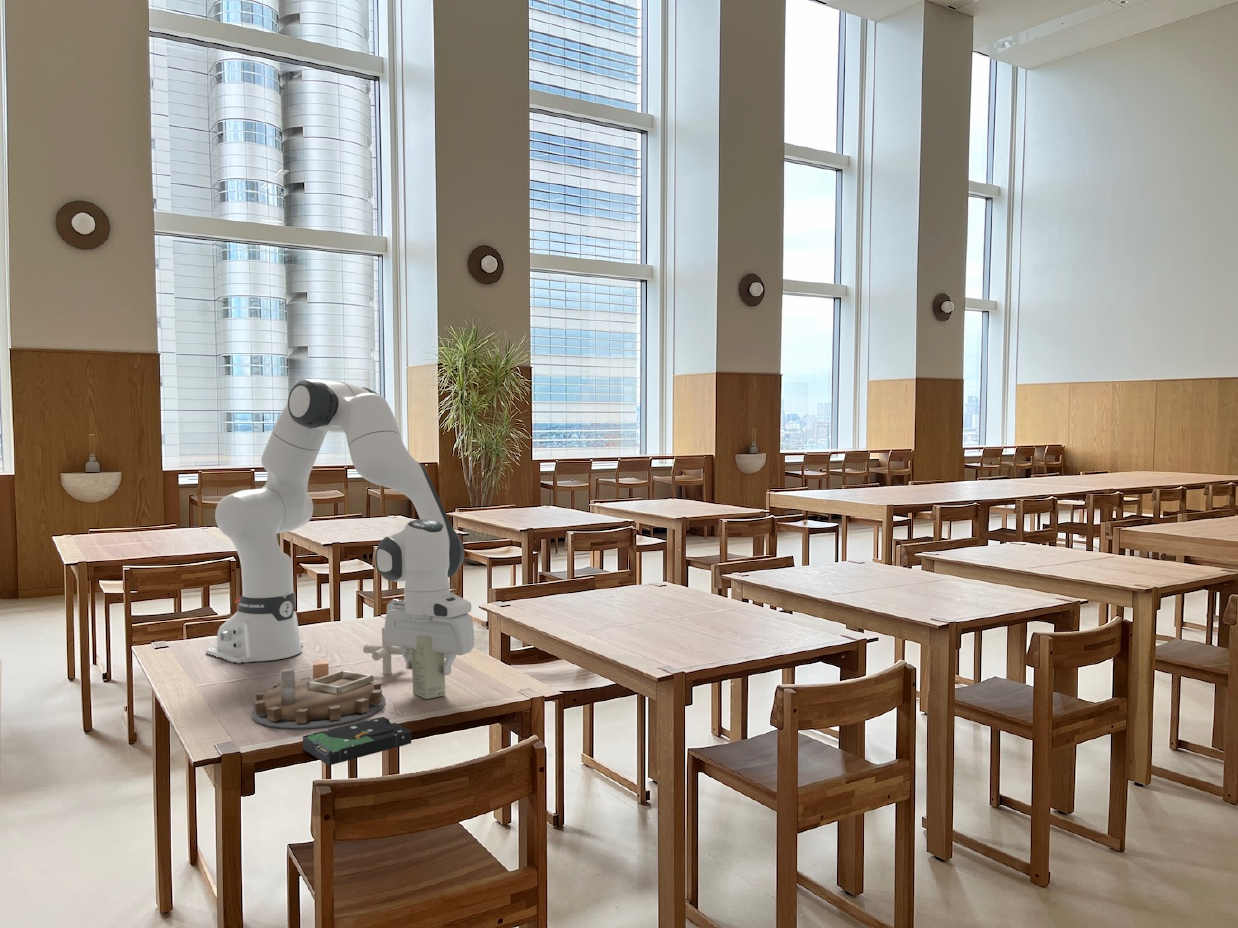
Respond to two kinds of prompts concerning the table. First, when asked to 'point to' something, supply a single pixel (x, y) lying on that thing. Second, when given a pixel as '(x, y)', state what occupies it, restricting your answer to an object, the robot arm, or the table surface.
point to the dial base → (318, 723)
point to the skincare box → (427, 669)
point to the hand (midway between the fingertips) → (428, 671)
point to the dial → (318, 697)
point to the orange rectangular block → (320, 669)
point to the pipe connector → (383, 653)
